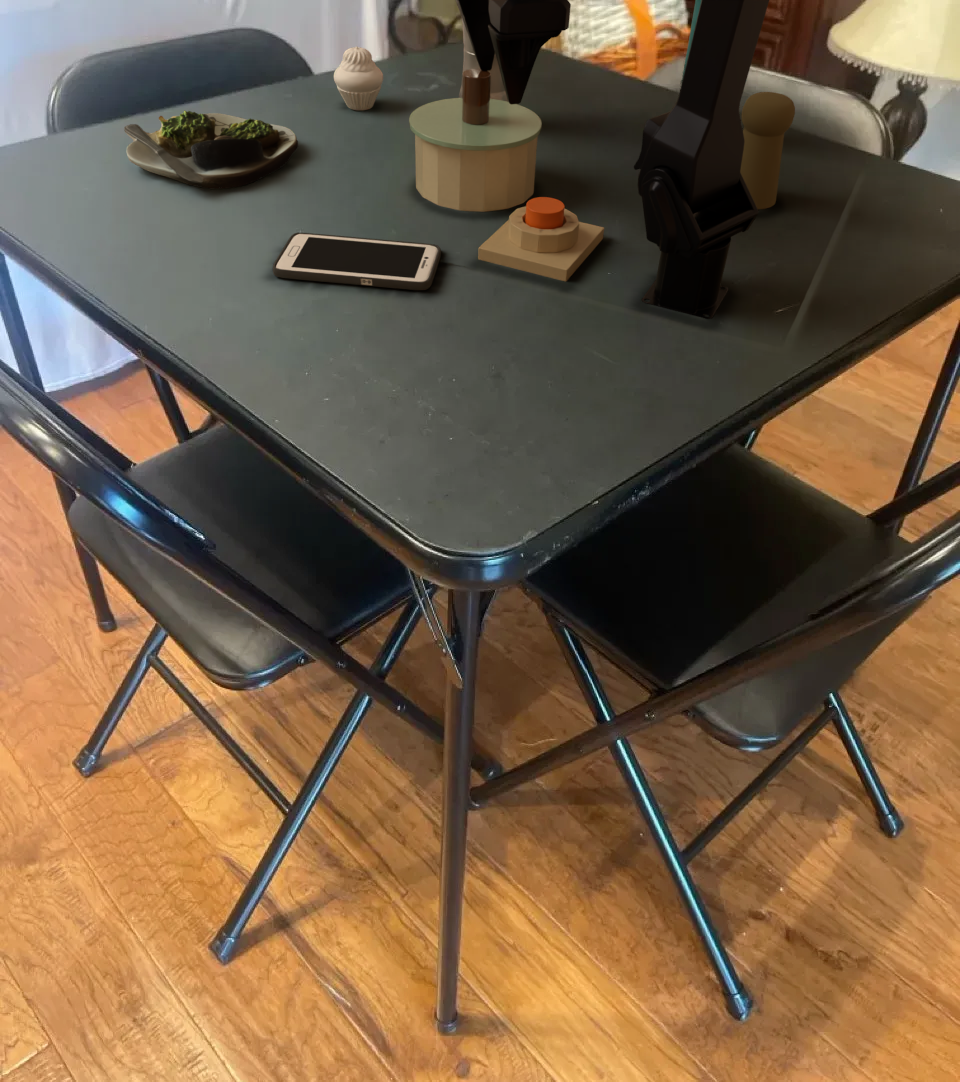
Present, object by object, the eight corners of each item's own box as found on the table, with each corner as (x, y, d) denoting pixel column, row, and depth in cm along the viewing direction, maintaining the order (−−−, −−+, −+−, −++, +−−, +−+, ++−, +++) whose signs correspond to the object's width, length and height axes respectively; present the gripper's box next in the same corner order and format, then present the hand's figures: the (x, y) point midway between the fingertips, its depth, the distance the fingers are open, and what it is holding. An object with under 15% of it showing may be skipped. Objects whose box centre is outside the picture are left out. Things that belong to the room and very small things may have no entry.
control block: (565, 287, 85) (569, 251, 83) (477, 264, 88) (478, 229, 85) (602, 243, 92) (606, 209, 89) (519, 223, 94) (522, 190, 92)
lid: (511, 166, 89) (514, 105, 85) (385, 141, 92) (383, 81, 88) (559, 121, 98) (564, 65, 94) (443, 100, 101) (444, 44, 98)
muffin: (335, 97, 119) (331, 38, 114) (383, 97, 120) (381, 38, 115) (335, 115, 115) (331, 54, 110) (385, 114, 115) (382, 54, 110)
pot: (503, 226, 94) (507, 156, 89) (395, 200, 97) (393, 132, 93) (550, 182, 102) (556, 116, 97) (449, 159, 106) (450, 95, 101)
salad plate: (78, 166, 101) (66, 122, 98) (185, 116, 113) (177, 76, 109) (220, 205, 95) (212, 160, 92) (317, 148, 107) (314, 106, 104)
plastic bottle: (520, 126, 114) (531, -63, 100) (491, 143, 110) (499, -53, 96) (476, 115, 116) (482, -72, 102) (446, 131, 112) (448, -62, 98)
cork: (776, 217, 97) (804, 108, 90) (718, 210, 98) (741, 102, 90) (774, 194, 102) (801, 88, 94) (719, 188, 102) (741, 82, 95)
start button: (554, 234, 86) (556, 216, 84) (519, 226, 87) (520, 208, 86) (568, 219, 88) (570, 201, 87) (534, 211, 89) (535, 193, 88)
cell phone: (293, 240, 90) (292, 231, 89) (442, 254, 89) (442, 244, 88) (270, 278, 84) (269, 268, 83) (429, 293, 83) (429, 283, 82)
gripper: (639, -88, 73) (613, 115, 84) (559, -131, 86) (546, 50, 97) (506, -84, 71) (497, 125, 82) (444, -129, 83) (444, 57, 94)
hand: (499, 86), depth 89 cm, fingers open, 9 cm apart
